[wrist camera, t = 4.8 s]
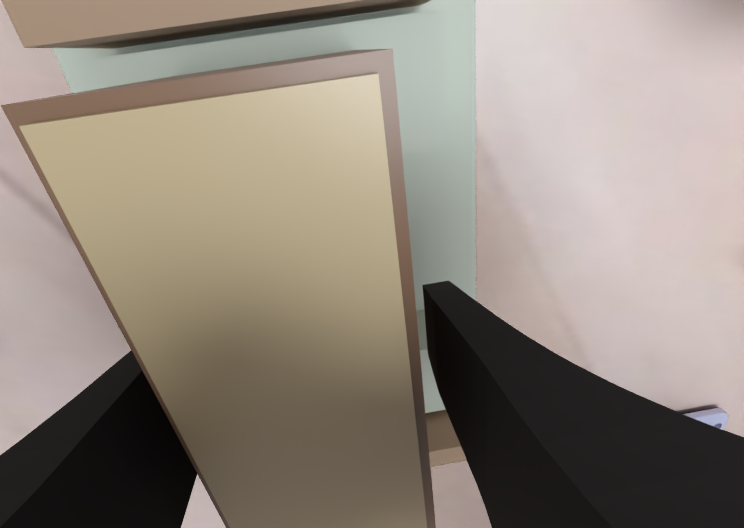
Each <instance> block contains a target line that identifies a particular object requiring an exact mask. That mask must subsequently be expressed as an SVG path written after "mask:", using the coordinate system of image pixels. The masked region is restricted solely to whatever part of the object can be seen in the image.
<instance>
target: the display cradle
mask: <svg viewBox="0 0 744 528" xmlns="http://www.w3.org/2000/svg"><path fill="white" fill-rule="evenodd" d="M1 1H2V3H3V5H4V7H5V9H6V11H7V13H8V15H9V17H10V19H11V21H12V24H13V26H14V28H15V30H16V32H17V34H18V36H19V38H20V40H21V42H22V45H23V47H24V48H52V50H53V52H54V54H55V56H56V59H57V61H58V63H59V65H60V68H61V70H62V72H63V74H64V77H65V79H66V81H67V83H68V85H69V88H70V90H71V92H72V93H77V92H83V91H89V90H95V89H101V88H107V87H113V86H118V85H124V84H130V83H136V82H142V81H148V80H154V79H160V78H166V77H171V76H178V75H185V74H192V73H198V72H205V71H212V70H219V69H226V68H233V67H240V66H247V65H254V64H261V63H268V62H275V61H281V60H288V59H295V58H302V57H309V56H316V55H323V54H330V53H337V52H344V51H351V50H368V49H393V57H394V68H395V79H396V91H397V102H398V113H399V124H400V135H401V146H402V158H403V169H404V180H405V191H406V202H407V213H408V224H409V236H410V247H411V258H412V269H413V280H414V291H415V303H416V314H417V325H418V336H419V347H420V358H421V369H422V381H423V392H424V403H425V414H426V425H427V436H428V447H429V459H430V467H433V466H438V465H444V464H449V463H454V462H460V461H465V460H467V459H466V457H465V454H464V452H463V450H462V447H461V445H460V442H459V440H458V438H457V435H456V433H455V431H454V428H453V426H452V423H451V421H450V419H449V416H448V414H447V411H446V409H445V406H444V404H443V402H442V399H441V397H440V394H439V391H438V388H437V385H436V381H435V378H434V374H433V371H432V367H431V364H430V360H429V356H428V350H427V337H426V324H425V311H424V298H423V286H422V285H425V284H431V283H437V282H443V281H450V282H452V283H453V284H454V285H456V286H457V287H458V288H460V289H461V290H462V291H464V292H465V293H466V294H467V295H469V296H470V297H471V298H473V299H474V300H475V301H476V48H475V0H1Z"/></svg>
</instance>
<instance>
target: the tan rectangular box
mask: <svg viewBox="0 0 744 528" xmlns="http://www.w3.org/2000/svg"><path fill="white" fill-rule="evenodd" d="M1 107H2V108H3V110H4V112H5V114H6V116H7V118H8V120H9V122H10V123H11V125H12V127H13V129H14V131H15V133H16V135H17V137H18V138H19V140H20V142H21V144H22V146H23V148H24V150H25V152H26V153H27V155H28V157H29V159H30V161H31V163H32V165H33V166H34V168H35V170H36V172H37V174H38V176H39V178H40V180H41V181H42V183H43V185H44V187H45V189H46V191H47V193H48V195H49V196H50V198H51V200H52V202H53V204H54V206H55V208H56V210H57V211H58V213H59V215H60V217H61V219H62V221H63V223H64V225H65V226H66V228H67V230H68V232H69V234H70V236H71V238H72V240H73V241H74V243H75V245H76V247H77V249H78V251H79V253H80V255H81V256H82V258H83V260H84V262H85V264H86V266H87V268H88V270H89V271H90V273H91V275H92V277H93V279H94V281H95V283H96V285H97V286H98V288H99V290H100V292H101V294H102V296H103V298H104V300H105V301H106V303H107V305H108V307H109V309H110V311H111V313H112V315H113V316H114V318H115V320H116V322H117V324H118V326H119V328H120V329H121V331H122V333H123V335H124V337H125V339H126V341H127V343H128V344H129V346H130V348H131V350H132V352H133V354H134V356H135V358H136V359H137V361H138V363H139V365H140V367H141V369H142V371H143V373H144V374H145V376H146V378H147V380H148V382H149V384H150V386H151V388H152V389H153V391H154V393H155V395H156V397H157V399H158V401H159V403H160V404H161V406H162V408H163V410H164V412H165V414H166V416H167V418H168V419H169V421H170V423H171V425H172V427H173V429H174V431H175V433H176V434H177V436H178V438H179V440H180V442H181V444H182V446H183V448H184V449H185V451H186V453H187V455H188V457H189V459H190V461H191V463H192V464H193V466H194V468H195V470H196V472H197V474H198V476H199V478H200V479H201V481H202V483H203V485H204V487H205V489H206V491H207V492H208V494H209V496H210V498H211V500H212V502H213V504H214V506H215V507H216V509H217V511H218V513H219V515H220V517H221V519H222V521H223V522H224V524H225V526H226V528H436V526H435V514H434V503H433V492H432V481H431V470H430V459H429V447H428V436H427V425H426V414H425V403H424V392H423V381H422V369H421V358H420V347H419V336H418V325H417V314H416V303H415V291H414V280H413V269H412V258H411V247H410V236H409V224H408V213H407V202H406V191H405V180H404V169H403V158H402V146H401V135H400V124H399V113H398V102H397V91H396V79H395V68H394V57H393V49H368V50H351V51H344V52H337V53H330V54H323V55H316V56H309V57H302V58H295V59H288V60H281V61H275V62H268V63H261V64H254V65H247V66H240V67H233V68H226V69H219V70H212V71H205V72H198V73H192V74H185V75H178V76H171V77H166V78H160V79H154V80H148V81H142V82H136V83H130V84H124V85H118V86H113V87H107V88H101V89H95V90H89V91H83V92H77V93H71V94H65V95H60V96H54V97H48V98H42V99H36V100H30V101H24V102H18V103H12V104H7V105H1Z"/></svg>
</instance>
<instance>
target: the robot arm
mask: <svg viewBox="0 0 744 528" xmlns="http://www.w3.org/2000/svg"><path fill="white" fill-rule="evenodd" d="M422 286H423V298H424V311H425V324H426V337H427V350H428V356H429V360H430V364H431V367H432V371H433V374H434V378H435V381H436V385H437V388H438V391H439V394H440V397H441V399H442V402H443V404H444V406H445V409H446V411H447V414H448V416H449V419H450V421H451V423H452V426H453V428H454V431H455V433H456V435H457V438H458V440H459V442H460V445H461V447H462V450H463V452H464V454H465V457H466V459H467V462H468V464H469V466H470V469H471V471H472V474H473V476H474V478H475V481H476V483H477V486H478V488H479V491H480V494H481V496H482V499H483V502H484V504H485V507H486V510H487V513H488V516H489V520H490V523H491V526H492V528H744V437H741V436H738V435H735V434H733V433H730V432H727V431H724V430H723V429H724V427H725V425H726V422H727V420H728V414H727V413H726V412H725V411H724V410H723V409H721V408H714V409H709V410H703V411H698V412H693V413H687V414H681V413H678V412H676V411H674V410H671V409H669V408H667V407H665V406H662V405H660V404H658V403H655V402H653V401H651V400H648V399H646V398H644V397H641V396H639V395H637V394H634V393H632V392H630V391H628V390H626V389H624V388H621V387H619V386H617V385H615V384H613V383H611V382H609V381H607V380H605V379H603V378H601V377H599V376H597V375H595V374H593V373H591V372H589V371H587V370H585V369H583V368H581V367H579V366H577V365H575V364H573V363H572V362H570V361H568V360H566V359H564V358H563V357H561V356H559V355H557V354H555V353H554V352H552V351H550V350H549V349H547V348H545V347H544V346H542V345H540V344H539V343H537V342H536V341H534V340H532V339H531V338H529V337H527V336H526V335H524V334H523V333H521V332H520V331H518V330H516V329H515V328H513V327H512V326H510V325H509V324H507V323H506V322H505V321H503V320H502V319H500V318H499V317H497V316H496V315H494V314H493V313H492V312H490V311H489V310H488V309H486V308H485V307H484V306H482V305H481V304H479V303H478V302H477V301H475V300H474V299H473V298H471V297H470V296H469V295H467V294H466V293H465V292H464V291H462V290H461V289H460V288H458V287H457V286H456V285H454V284H453V283H452V282H450V281H443V282H437V283H431V284H425V285H422ZM196 476H197V472H196V470H195V468H194V466H193V464H192V463H191V461H190V459H189V457H188V455H187V453H186V451H185V449H184V448H183V446H182V444H181V442H180V440H179V438H178V436H177V434H176V433H175V431H174V429H173V427H172V425H171V423H170V421H169V419H168V418H167V416H166V414H165V412H164V410H163V408H162V406H161V404H160V403H159V401H158V399H157V397H156V395H155V393H154V391H153V389H152V388H151V386H150V384H149V382H148V380H147V378H146V376H145V374H144V373H143V371H142V369H141V367H140V365H139V363H138V361H137V359H136V358H135V356H134V354H133V352H132V350H131V351H130V352H129V353H128V354H126V355H125V356H124V357H123V358H122V359H120V360H119V361H118V362H117V363H116V364H114V365H113V366H112V367H111V368H110V369H108V370H107V371H106V372H105V373H104V374H102V375H101V376H100V377H99V378H98V379H96V380H95V381H94V382H93V383H92V384H90V385H89V386H88V387H87V388H86V389H85V390H83V391H82V392H81V393H80V394H79V395H77V396H76V397H75V398H74V399H72V400H71V401H70V402H69V403H67V404H66V405H65V406H64V407H62V408H61V409H60V410H58V411H57V412H56V413H55V414H53V415H52V416H51V417H50V418H48V419H47V420H46V421H44V422H43V423H42V424H41V425H39V426H38V427H37V428H36V429H34V430H33V431H32V432H30V433H29V434H28V435H27V436H25V437H24V438H23V439H22V440H20V441H19V442H18V443H16V444H15V445H14V446H12V447H11V448H10V449H8V450H7V451H6V452H4V453H3V454H2V455H0V528H181V525H182V522H183V518H184V515H185V512H186V509H187V505H188V502H189V499H190V496H191V492H192V489H193V486H194V482H195V479H196Z"/></svg>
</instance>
